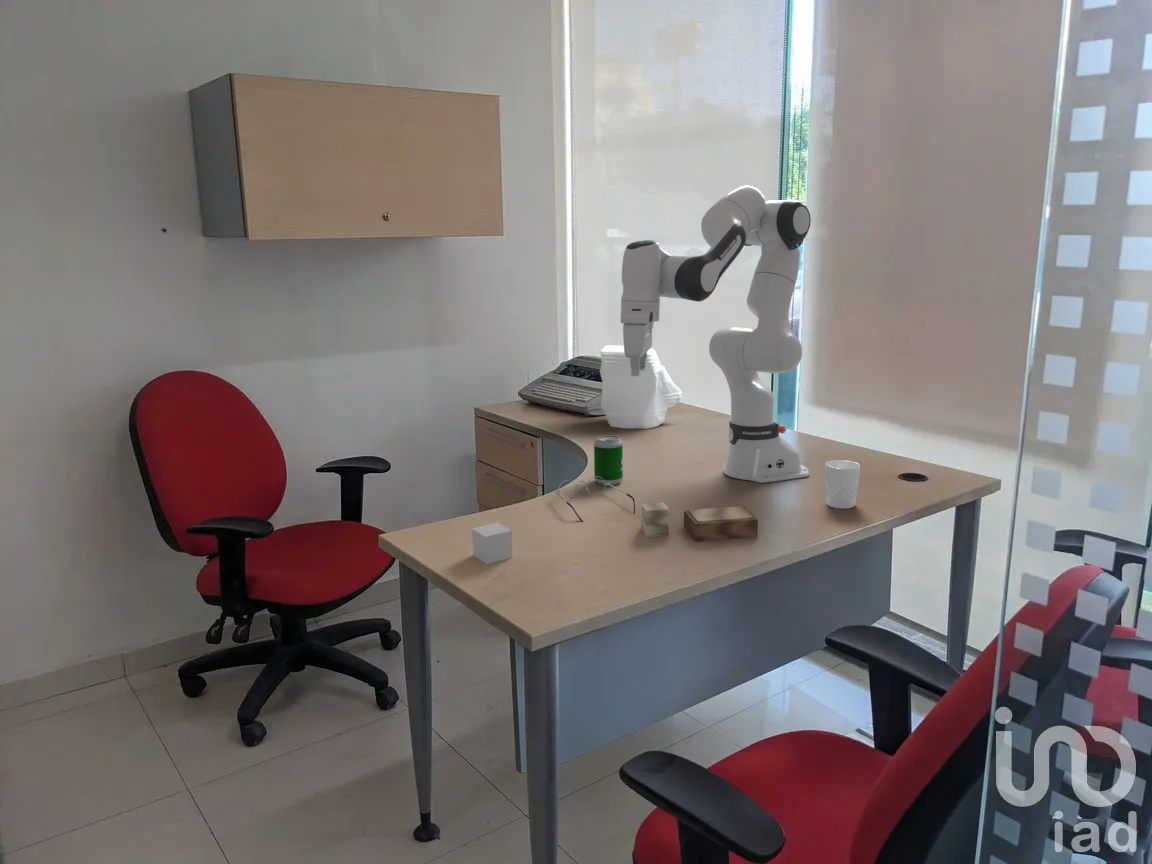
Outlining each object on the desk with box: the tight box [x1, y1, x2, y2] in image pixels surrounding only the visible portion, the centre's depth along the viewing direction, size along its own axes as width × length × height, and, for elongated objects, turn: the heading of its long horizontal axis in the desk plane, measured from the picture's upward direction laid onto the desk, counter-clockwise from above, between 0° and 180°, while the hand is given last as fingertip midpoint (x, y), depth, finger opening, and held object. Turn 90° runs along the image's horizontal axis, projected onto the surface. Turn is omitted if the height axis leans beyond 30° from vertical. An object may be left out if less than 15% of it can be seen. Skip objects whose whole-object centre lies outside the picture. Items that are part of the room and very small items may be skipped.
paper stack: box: [599, 344, 683, 430], centre depth 283 cm, size 21×27×26 cm
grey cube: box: [471, 522, 513, 565], centre depth 176 cm, size 6×6×6 cm
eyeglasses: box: [554, 476, 636, 523], centre depth 206 cm, size 16×19×5 cm
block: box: [640, 501, 670, 538], centre depth 188 cm, size 5×5×6 cm
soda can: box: [593, 435, 624, 487], centre depth 224 cm, size 8×8×12 cm
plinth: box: [683, 505, 759, 543], centre depth 188 cm, size 14×9×4 cm, turn 99°
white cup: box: [824, 459, 861, 510], centre depth 204 cm, size 8×8×10 cm
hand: (638, 372), depth 199 cm, fingers open, 8 cm apart
